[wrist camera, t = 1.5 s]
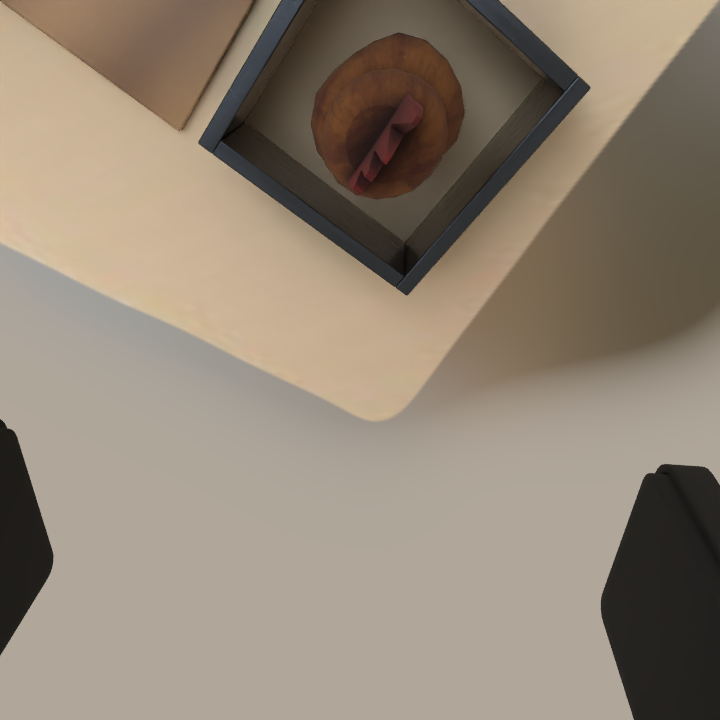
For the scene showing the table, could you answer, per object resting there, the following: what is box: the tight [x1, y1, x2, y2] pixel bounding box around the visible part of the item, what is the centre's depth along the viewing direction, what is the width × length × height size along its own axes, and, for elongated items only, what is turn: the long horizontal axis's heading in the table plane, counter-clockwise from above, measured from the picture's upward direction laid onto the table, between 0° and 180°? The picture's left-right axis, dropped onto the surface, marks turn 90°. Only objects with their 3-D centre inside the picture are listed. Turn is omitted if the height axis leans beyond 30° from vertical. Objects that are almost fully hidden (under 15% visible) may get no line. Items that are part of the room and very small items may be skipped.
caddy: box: [198, 0, 590, 295], centre depth 30 cm, size 13×13×5 cm
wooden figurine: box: [311, 33, 465, 199], centre depth 26 cm, size 7×6×15 cm
